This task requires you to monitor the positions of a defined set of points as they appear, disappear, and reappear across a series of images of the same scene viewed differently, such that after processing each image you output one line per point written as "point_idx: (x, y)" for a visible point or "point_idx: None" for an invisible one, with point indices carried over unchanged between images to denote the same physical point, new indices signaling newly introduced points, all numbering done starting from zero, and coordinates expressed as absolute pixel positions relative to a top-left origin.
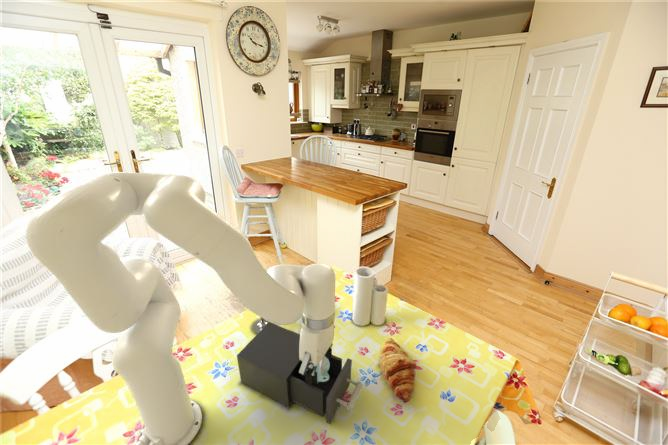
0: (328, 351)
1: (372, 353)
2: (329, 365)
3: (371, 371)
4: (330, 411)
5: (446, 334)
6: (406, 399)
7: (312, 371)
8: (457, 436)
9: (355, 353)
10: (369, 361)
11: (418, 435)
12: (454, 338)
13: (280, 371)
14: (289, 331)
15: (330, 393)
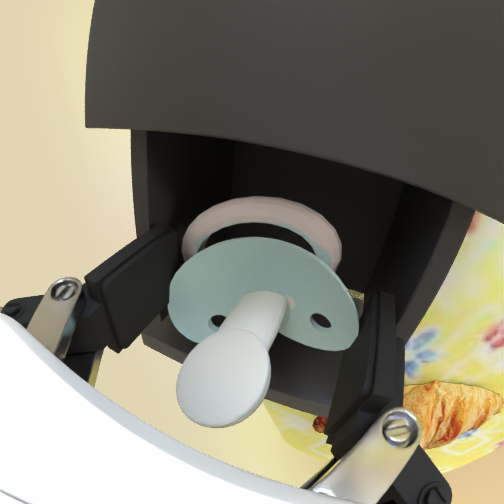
0: (332, 416)
1: (483, 359)
2: (312, 345)
3: (422, 359)
4: None
5: (480, 452)
6: (314, 428)
7: (67, 352)
8: (286, 437)
9: (495, 314)
10: (458, 354)
11: (271, 407)
12: (467, 458)
13: (107, 54)
14: None
15: (162, 345)
